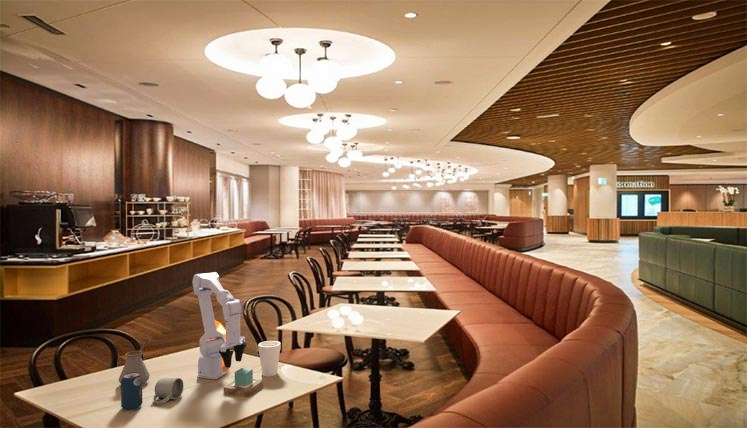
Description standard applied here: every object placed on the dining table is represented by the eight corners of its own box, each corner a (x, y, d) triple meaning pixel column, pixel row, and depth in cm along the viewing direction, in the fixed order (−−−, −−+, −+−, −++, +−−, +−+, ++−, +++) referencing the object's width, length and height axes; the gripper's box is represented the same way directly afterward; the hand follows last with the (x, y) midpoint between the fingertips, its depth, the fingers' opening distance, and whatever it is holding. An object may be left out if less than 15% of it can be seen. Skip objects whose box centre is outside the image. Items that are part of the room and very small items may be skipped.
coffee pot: (143, 389, 193) (143, 351, 193) (113, 390, 192) (112, 352, 192) (162, 370, 215) (161, 336, 214) (135, 371, 214) (134, 337, 213)
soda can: (145, 407, 176) (145, 374, 176) (125, 413, 171) (125, 379, 171) (137, 401, 181) (137, 370, 181) (118, 407, 176) (117, 375, 176)
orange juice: (222, 360, 228) (221, 317, 228) (229, 365, 222) (229, 321, 221) (205, 363, 223) (204, 320, 223) (212, 368, 217) (212, 324, 216)
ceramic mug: (165, 392, 190) (165, 373, 189) (184, 394, 188) (183, 375, 188) (147, 404, 179) (146, 384, 179) (167, 406, 177) (166, 385, 177)
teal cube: (234, 384, 191) (234, 372, 191) (241, 380, 196) (241, 367, 195) (245, 386, 189) (245, 373, 189) (252, 381, 194) (252, 369, 194)
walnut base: (223, 395, 189) (223, 386, 189) (239, 384, 199) (239, 377, 199) (248, 398, 185) (248, 390, 185) (263, 387, 196) (263, 379, 196)
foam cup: (283, 370, 214) (283, 341, 214) (277, 378, 205) (277, 347, 205) (262, 369, 215) (262, 340, 215) (255, 377, 206) (255, 346, 206)
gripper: (231, 336, 187) (231, 371, 187) (251, 326, 200) (251, 359, 201) (215, 334, 189) (215, 369, 189) (236, 325, 202) (236, 357, 203)
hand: (233, 364), depth 195 cm, fingers open, 7 cm apart
